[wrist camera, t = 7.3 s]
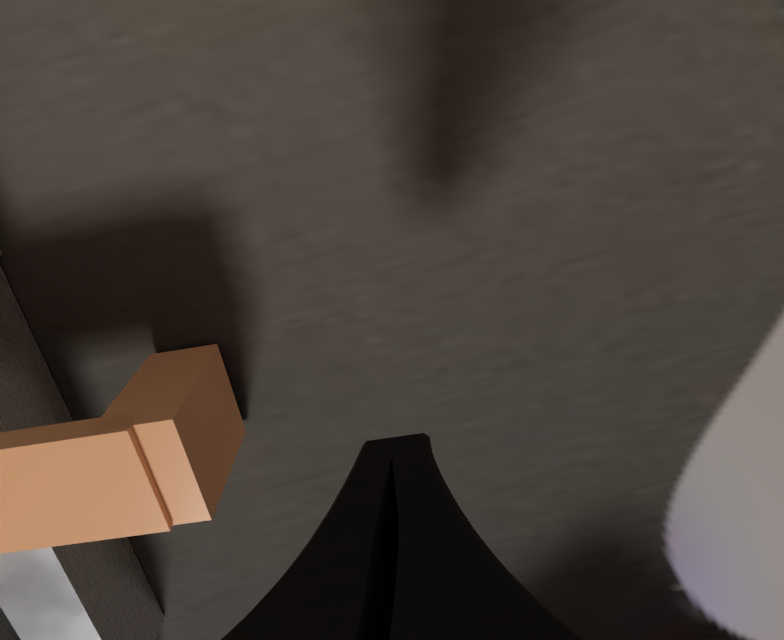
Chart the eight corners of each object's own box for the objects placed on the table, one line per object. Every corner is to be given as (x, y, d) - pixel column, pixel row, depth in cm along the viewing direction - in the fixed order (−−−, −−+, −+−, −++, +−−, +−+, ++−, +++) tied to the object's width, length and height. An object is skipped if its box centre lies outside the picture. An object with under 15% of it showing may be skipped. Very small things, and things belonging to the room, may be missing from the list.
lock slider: (245, 430, 19) (209, 525, 15) (-7, 467, 19) (-100, 567, 16) (217, 343, 17) (169, 424, 14) (-52, 386, 18) (-164, 474, 14)
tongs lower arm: (170, 616, 22) (136, 703, 19) (97, 625, 23) (52, 712, 20) (-50, 141, 15) (-154, 165, 12) (-152, 161, 16) (-278, 189, 13)
